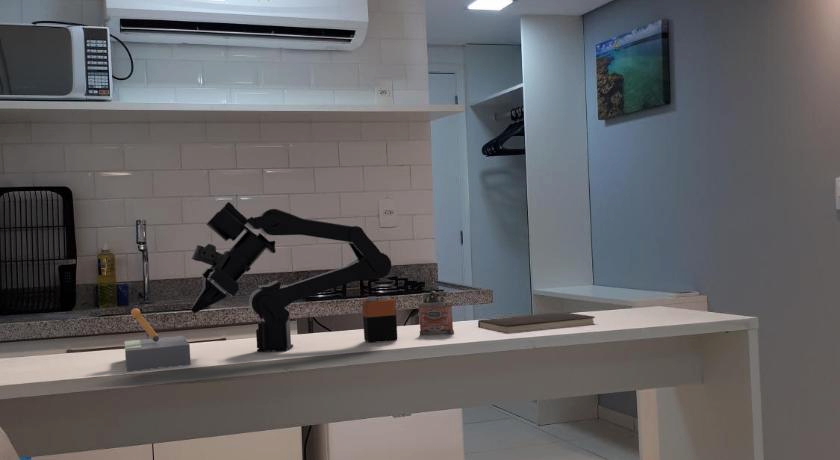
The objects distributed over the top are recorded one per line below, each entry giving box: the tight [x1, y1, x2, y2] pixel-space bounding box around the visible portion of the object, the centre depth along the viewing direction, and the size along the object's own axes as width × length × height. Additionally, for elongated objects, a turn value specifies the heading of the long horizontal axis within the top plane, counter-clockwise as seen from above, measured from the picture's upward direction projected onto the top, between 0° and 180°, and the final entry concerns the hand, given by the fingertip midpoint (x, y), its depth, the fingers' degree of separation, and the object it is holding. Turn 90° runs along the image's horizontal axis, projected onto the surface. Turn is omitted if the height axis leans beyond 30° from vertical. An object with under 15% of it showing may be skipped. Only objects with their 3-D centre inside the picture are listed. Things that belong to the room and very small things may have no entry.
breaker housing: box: [124, 335, 191, 372], centre depth 166 cm, size 12×18×4 cm, turn 21°
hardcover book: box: [477, 311, 596, 334], centre depth 192 cm, size 16×23×2 cm
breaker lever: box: [130, 307, 160, 342], centre depth 165 cm, size 2×4×8 cm
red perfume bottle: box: [417, 290, 455, 336], centre depth 186 cm, size 8×3×10 cm, turn 76°
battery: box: [361, 295, 398, 344], centre depth 180 cm, size 4×7×10 cm, turn 108°
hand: (192, 311), depth 169 cm, fingers closed
